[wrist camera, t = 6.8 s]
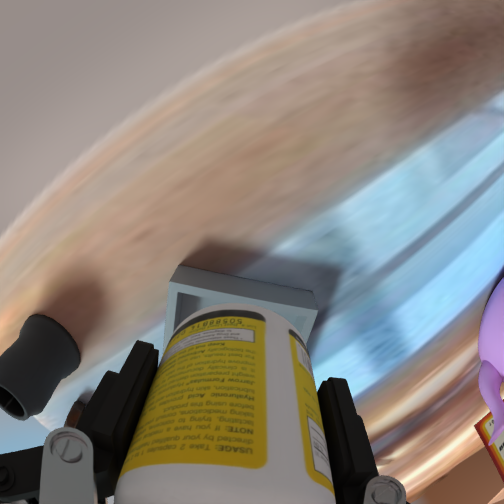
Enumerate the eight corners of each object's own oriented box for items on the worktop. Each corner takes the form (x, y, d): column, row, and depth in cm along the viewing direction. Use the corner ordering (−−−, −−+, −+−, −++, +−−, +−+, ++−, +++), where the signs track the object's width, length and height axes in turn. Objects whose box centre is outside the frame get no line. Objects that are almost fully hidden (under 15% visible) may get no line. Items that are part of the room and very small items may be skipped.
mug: (35, 300, 31) (-20, 353, 21) (91, 350, 33) (49, 416, 23) (13, 348, 34) (-28, 397, 24) (60, 390, 36) (27, 445, 26)
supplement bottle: (148, 368, 12) (67, 585, 3) (212, 269, 11) (115, 606, 1) (257, 421, 13) (252, 625, 4) (337, 342, 12) (408, 602, 2)
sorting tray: (312, 291, 30) (318, 310, 26) (278, 386, 34) (280, 408, 31) (178, 264, 29) (169, 281, 26) (168, 366, 33) (160, 387, 30)
